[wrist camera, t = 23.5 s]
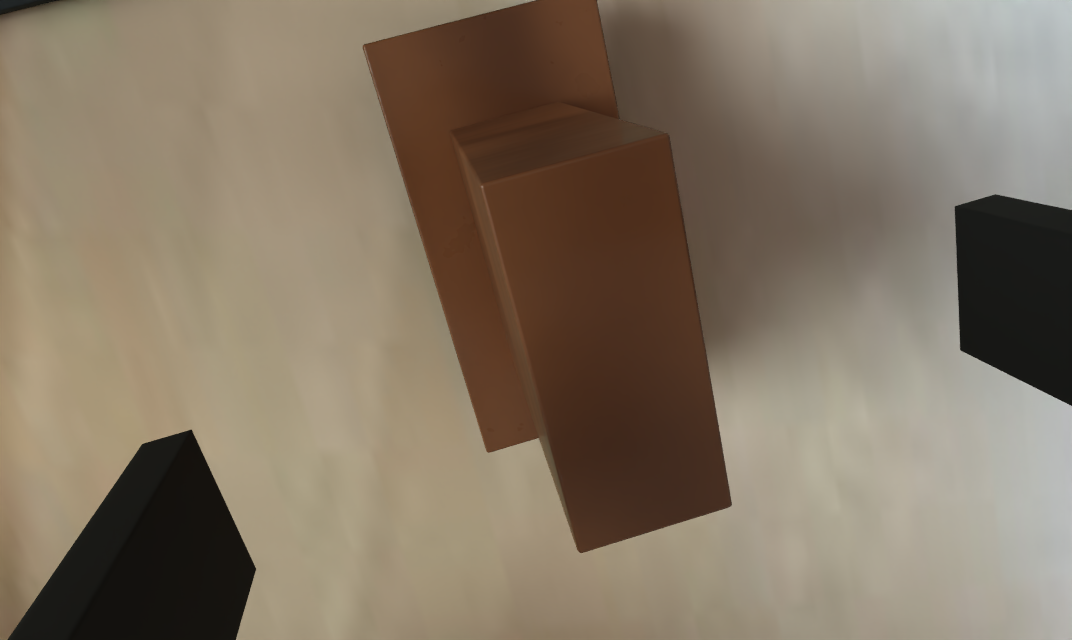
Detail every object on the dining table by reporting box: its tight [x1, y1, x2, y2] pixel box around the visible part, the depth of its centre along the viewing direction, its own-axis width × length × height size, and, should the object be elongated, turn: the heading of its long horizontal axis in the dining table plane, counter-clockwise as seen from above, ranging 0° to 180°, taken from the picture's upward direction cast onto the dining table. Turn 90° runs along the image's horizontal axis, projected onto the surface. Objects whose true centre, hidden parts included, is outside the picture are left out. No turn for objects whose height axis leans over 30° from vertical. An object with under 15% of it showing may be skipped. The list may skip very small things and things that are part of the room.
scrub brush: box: [363, 0, 732, 553], centre depth 18 cm, size 6×12×12 cm, turn 13°
